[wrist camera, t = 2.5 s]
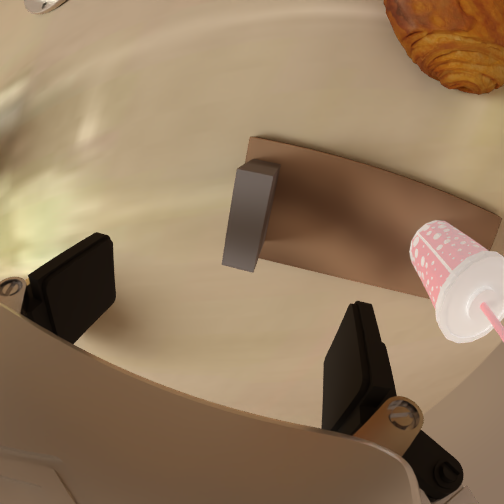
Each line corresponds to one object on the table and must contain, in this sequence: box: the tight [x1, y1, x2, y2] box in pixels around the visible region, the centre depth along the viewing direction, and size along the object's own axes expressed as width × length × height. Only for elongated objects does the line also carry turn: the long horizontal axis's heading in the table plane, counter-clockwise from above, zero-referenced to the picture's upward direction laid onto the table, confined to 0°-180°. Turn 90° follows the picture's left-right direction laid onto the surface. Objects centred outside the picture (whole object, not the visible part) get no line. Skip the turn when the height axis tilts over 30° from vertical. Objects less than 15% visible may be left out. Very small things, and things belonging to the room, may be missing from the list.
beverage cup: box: [409, 220, 504, 343], centre depth 15 cm, size 6×6×14 cm
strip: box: [222, 137, 502, 299], centre depth 18 cm, size 9×22×6 cm, turn 80°
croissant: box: [384, 0, 504, 94], centre depth 10 cm, size 14×16×8 cm
